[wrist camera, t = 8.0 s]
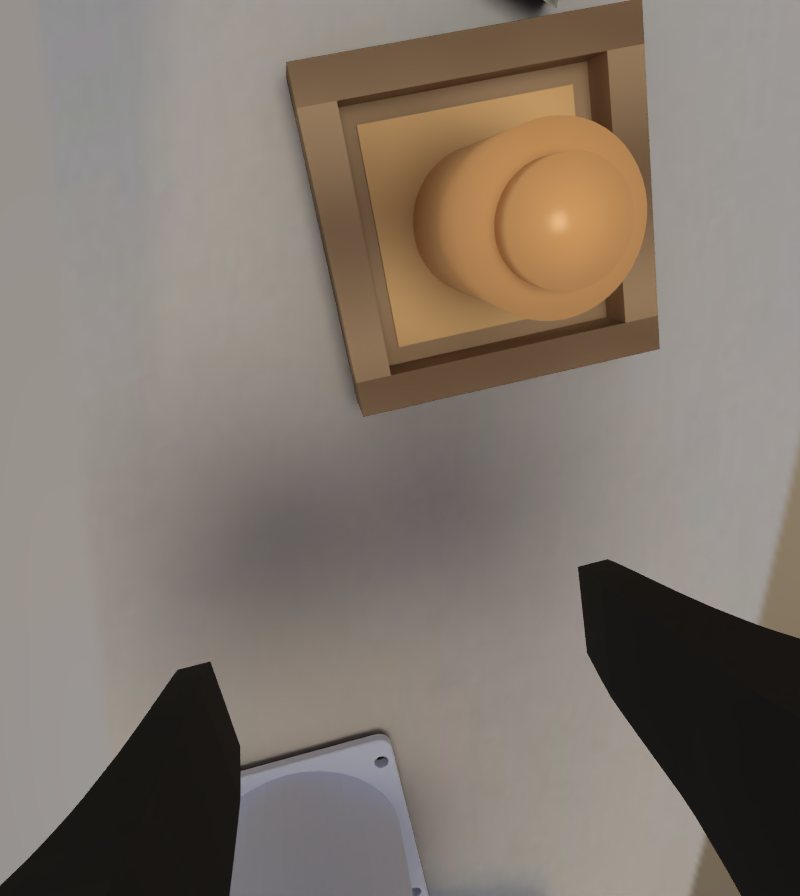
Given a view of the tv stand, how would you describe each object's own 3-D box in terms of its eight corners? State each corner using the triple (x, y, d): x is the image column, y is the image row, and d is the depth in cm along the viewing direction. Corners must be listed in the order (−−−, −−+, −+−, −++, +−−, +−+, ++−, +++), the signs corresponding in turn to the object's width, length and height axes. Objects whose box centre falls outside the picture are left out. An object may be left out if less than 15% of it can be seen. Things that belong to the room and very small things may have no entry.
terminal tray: (630, 338, 21) (659, 348, 20) (357, 400, 21) (363, 417, 19) (609, 18, 18) (641, -2, 17) (286, 77, 17) (286, 62, 16)
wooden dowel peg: (557, 278, 20) (672, 303, 14) (426, 307, 19) (486, 345, 13) (542, 131, 18) (662, 89, 12) (400, 159, 18) (455, 130, 12)
